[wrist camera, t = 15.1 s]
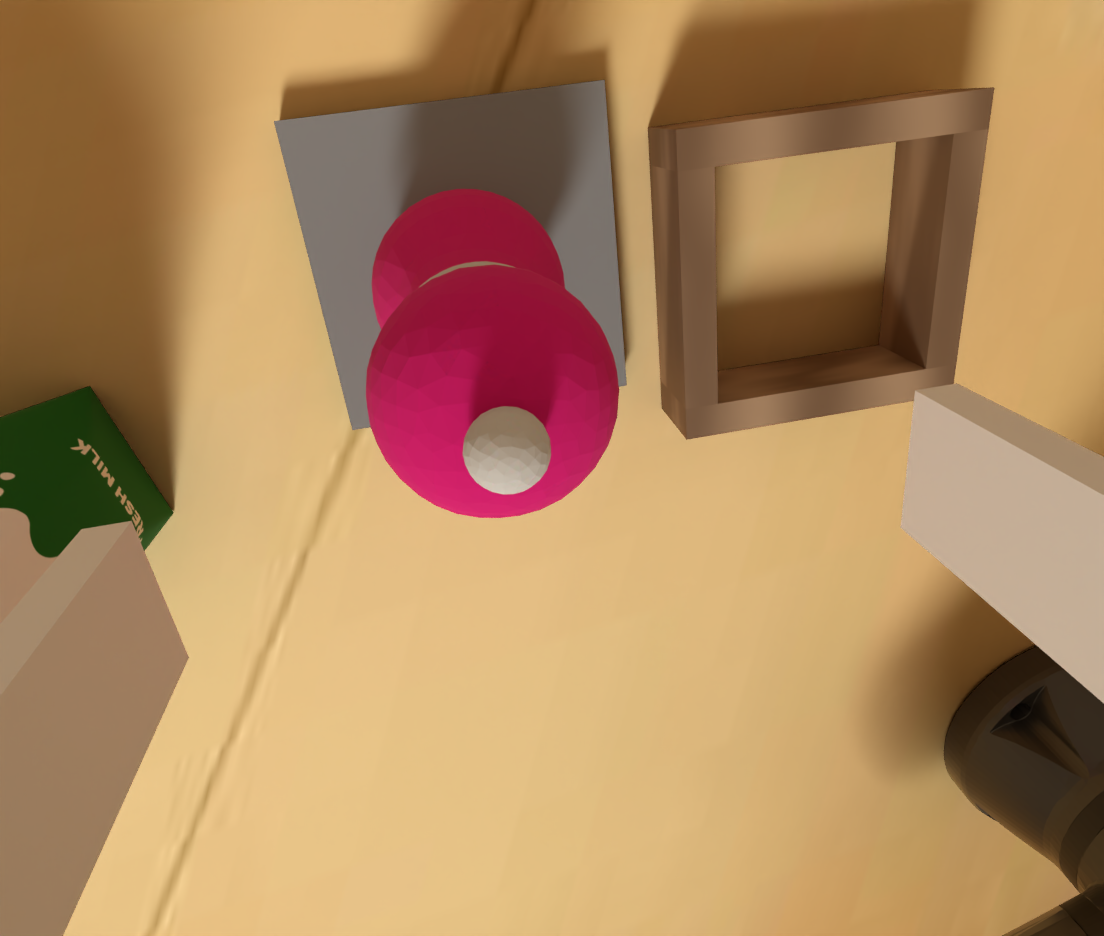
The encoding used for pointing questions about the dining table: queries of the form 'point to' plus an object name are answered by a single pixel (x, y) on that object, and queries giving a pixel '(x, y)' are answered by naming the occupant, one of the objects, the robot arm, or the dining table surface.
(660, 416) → the dining table surface
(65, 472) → the milk carton
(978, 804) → the robot arm
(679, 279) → the brown wooden square tray
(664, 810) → the dining table surface
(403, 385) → the pepper mill
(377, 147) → the coaster
